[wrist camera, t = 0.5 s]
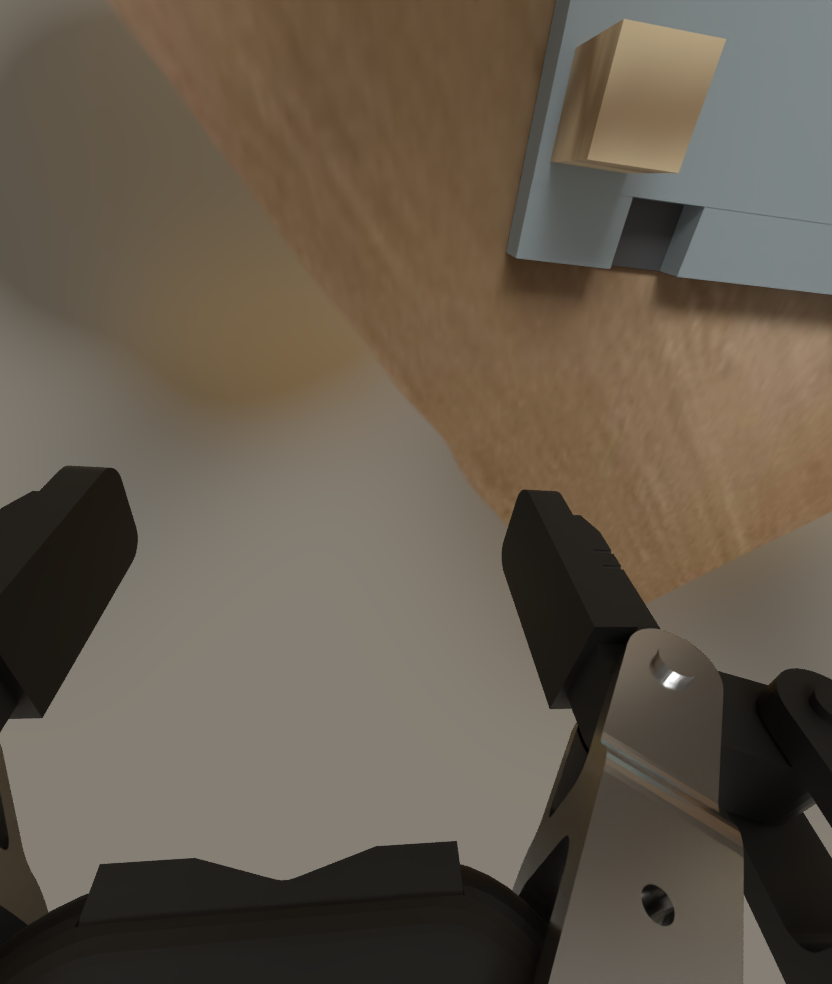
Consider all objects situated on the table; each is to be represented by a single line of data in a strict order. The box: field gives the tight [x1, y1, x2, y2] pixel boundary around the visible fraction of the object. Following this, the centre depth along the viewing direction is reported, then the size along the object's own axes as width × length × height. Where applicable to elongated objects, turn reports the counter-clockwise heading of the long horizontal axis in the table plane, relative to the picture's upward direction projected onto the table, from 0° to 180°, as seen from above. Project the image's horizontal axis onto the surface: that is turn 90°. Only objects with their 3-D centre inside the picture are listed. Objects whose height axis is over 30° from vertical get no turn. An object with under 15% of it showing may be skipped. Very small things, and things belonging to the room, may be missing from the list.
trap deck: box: [506, 0, 832, 295], centre depth 25 cm, size 14×28×5 cm, turn 84°
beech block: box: [550, 19, 726, 173], centre depth 22 cm, size 4×4×5 cm
